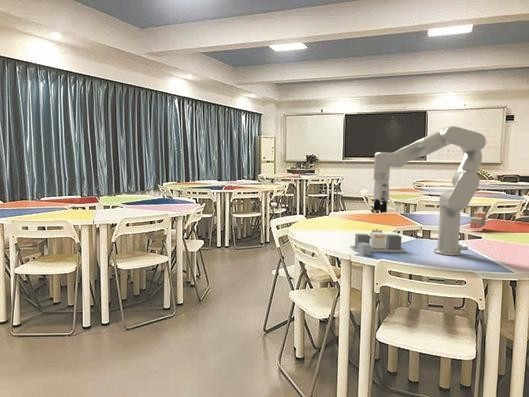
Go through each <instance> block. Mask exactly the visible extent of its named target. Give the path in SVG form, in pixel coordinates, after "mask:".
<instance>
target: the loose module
mask: <svg viewBox="0 0 529 397" xmlns="http://www.w3.org/2000/svg"><path fill="white" fill-rule="evenodd" d="M370 234H371V239H370V245H371V247H373V248H385V246H386V235H387V233H384V232H382V233H377V232H372V231H371V232H370Z"/></svg>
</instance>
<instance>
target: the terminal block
mask: <svg viewBox="0 0 529 397" xmlns="http://www.w3.org/2000/svg"><path fill="white" fill-rule="evenodd" d="M357 252H358V253H357ZM356 253H357V254H359V253H360V254H359V255H361V256H371V254H372V253H371V245H370V244H367V243H358V248H357V251H356Z"/></svg>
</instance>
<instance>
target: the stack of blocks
mask: <svg viewBox="0 0 529 397" xmlns="http://www.w3.org/2000/svg"><path fill="white" fill-rule="evenodd" d="M486 217H487V212H485V211H475V212H473V217H471V218H470V224H469V225H470V226H469V229H470V228H481V227H483V226H484V225H485V226H486V221H487V220H486V219H487V218H486Z"/></svg>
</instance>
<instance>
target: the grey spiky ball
mask: <svg viewBox="0 0 529 397" xmlns="http://www.w3.org/2000/svg"><path fill="white" fill-rule="evenodd" d="M371 230H372V231H371V232H377V233H383V229H382V230H379V229H378V228H376V229H375V230H374V229H371ZM371 232H369V234H368V235H369V236H370V240H371Z"/></svg>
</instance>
